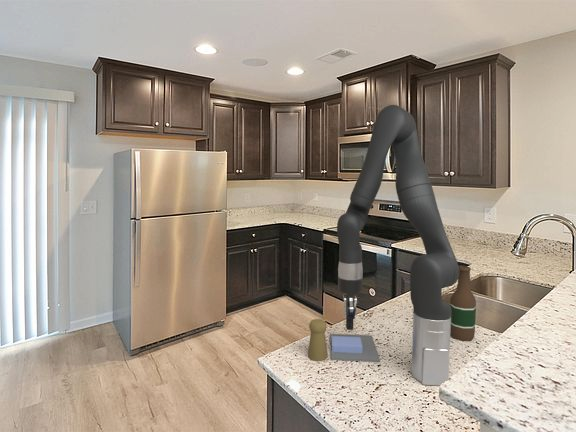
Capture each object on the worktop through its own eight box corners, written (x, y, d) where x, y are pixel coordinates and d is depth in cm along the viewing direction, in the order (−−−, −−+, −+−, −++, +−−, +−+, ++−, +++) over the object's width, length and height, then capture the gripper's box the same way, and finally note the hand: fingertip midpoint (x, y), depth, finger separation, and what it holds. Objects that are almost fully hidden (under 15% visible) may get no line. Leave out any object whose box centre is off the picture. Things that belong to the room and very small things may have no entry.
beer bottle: (463, 343, 110) (466, 270, 107) (443, 333, 117) (446, 265, 114) (480, 339, 113) (483, 267, 110) (459, 329, 120) (462, 262, 117)
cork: (331, 355, 103) (332, 320, 102) (319, 363, 98) (319, 326, 97) (316, 349, 107) (316, 315, 106) (303, 356, 102) (303, 321, 101)
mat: (380, 362, 99) (380, 360, 99) (331, 359, 100) (331, 358, 100) (371, 337, 115) (371, 335, 115) (329, 335, 116) (329, 333, 116)
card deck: (360, 343, 109) (362, 353, 103) (331, 341, 110) (332, 351, 104) (360, 337, 109) (362, 346, 103) (331, 335, 110) (332, 345, 104)
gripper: (365, 282, 100) (364, 338, 102) (360, 270, 113) (359, 320, 115) (339, 281, 101) (338, 337, 102) (337, 269, 114) (336, 320, 115)
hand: (349, 328), depth 108 cm, fingers closed
